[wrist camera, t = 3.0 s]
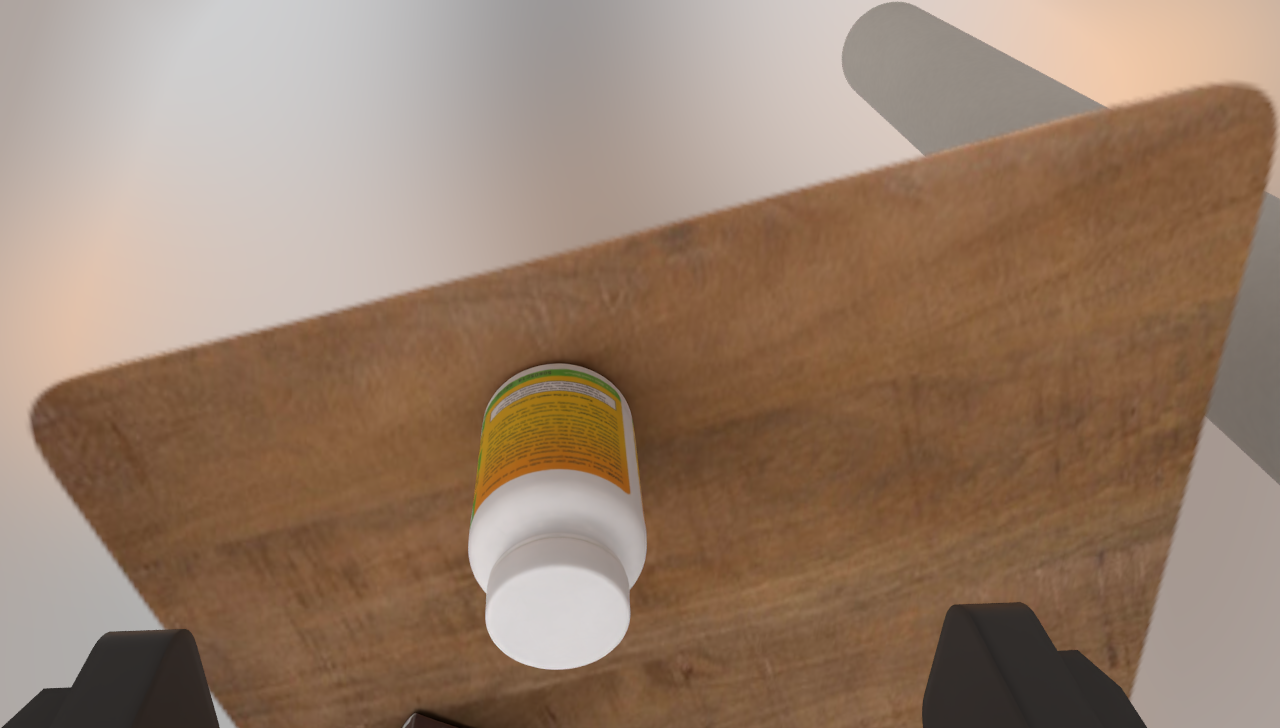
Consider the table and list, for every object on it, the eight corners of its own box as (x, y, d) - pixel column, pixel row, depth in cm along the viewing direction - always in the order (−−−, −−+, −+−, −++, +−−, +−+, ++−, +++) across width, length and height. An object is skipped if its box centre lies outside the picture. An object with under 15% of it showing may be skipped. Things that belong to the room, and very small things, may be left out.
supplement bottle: (455, 394, 33) (420, 589, 25) (594, 335, 32) (606, 516, 24) (525, 502, 36) (514, 712, 27) (655, 450, 35) (685, 650, 27)
